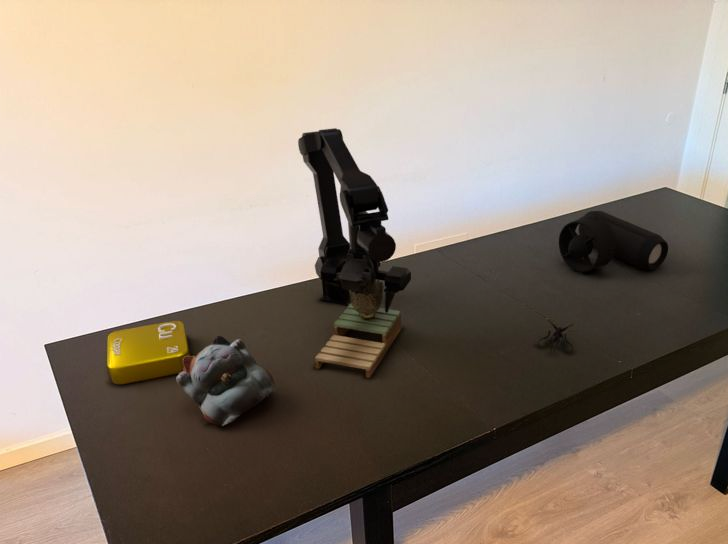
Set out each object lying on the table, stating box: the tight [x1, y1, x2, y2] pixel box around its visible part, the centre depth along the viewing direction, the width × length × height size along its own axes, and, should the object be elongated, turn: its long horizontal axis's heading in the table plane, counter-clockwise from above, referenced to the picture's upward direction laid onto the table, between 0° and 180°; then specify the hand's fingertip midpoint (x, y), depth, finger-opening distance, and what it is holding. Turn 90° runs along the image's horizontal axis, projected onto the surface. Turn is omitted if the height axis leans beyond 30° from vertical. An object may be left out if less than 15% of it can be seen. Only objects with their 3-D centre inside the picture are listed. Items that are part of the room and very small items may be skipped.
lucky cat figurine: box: [175, 335, 275, 427], centre depth 122 cm, size 15×12×14 cm
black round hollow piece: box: [558, 214, 616, 274], centre depth 173 cm, size 14×14×10 cm
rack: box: [314, 302, 402, 379], centre depth 141 cm, size 12×20×5 cm, turn 165°
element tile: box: [106, 320, 191, 385], centre depth 135 cm, size 15×15×5 cm
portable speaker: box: [578, 210, 669, 271], centre depth 182 cm, size 26×10×10 cm, turn 36°
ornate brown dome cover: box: [349, 279, 384, 320], centre depth 141 cm, size 8×7×8 cm
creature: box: [536, 318, 574, 354], centre depth 143 cm, size 8×5×8 cm
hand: (367, 308), depth 142 cm, fingers open, 9 cm apart
